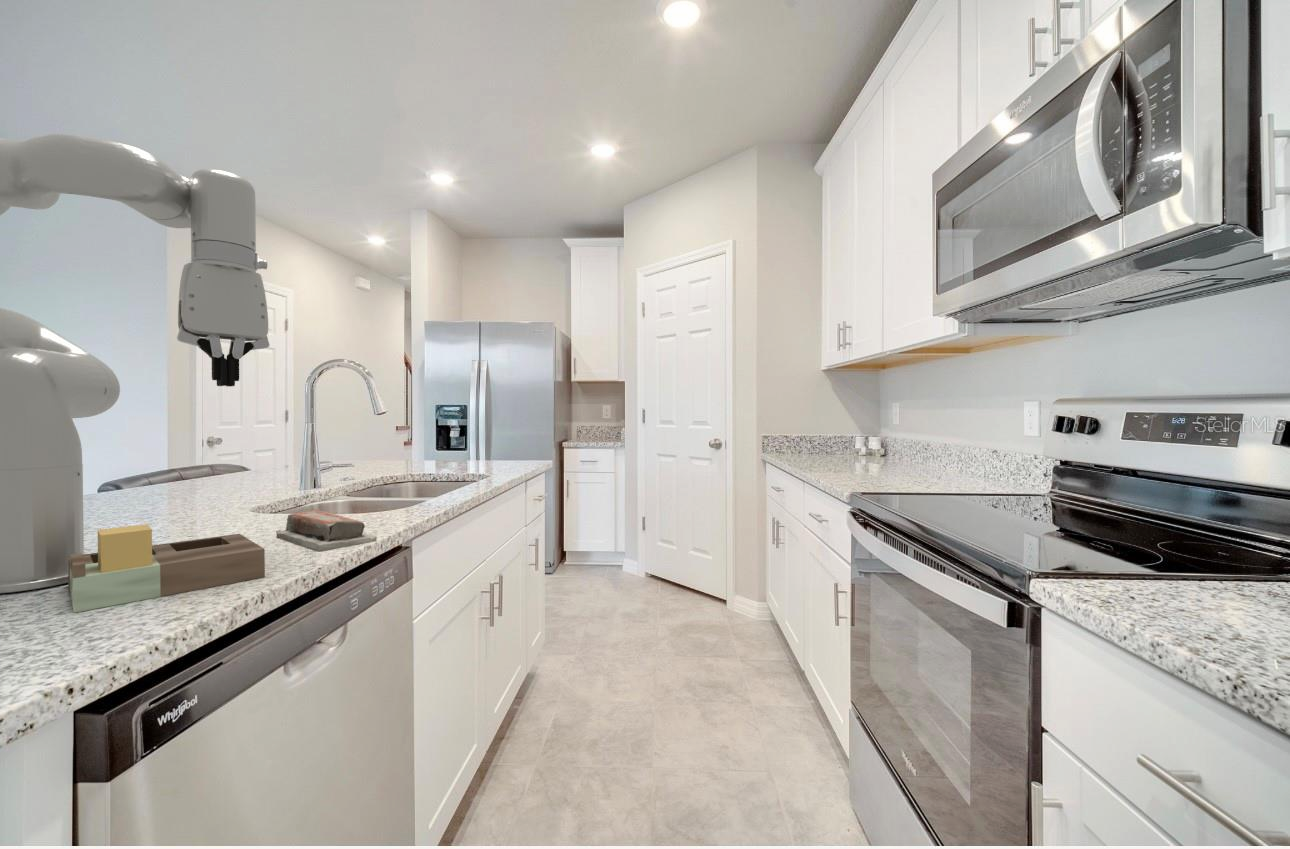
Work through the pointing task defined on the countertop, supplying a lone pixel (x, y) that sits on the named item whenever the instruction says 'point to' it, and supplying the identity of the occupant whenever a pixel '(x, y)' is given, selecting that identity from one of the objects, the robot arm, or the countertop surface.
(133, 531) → the ochre block
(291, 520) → the packaged product
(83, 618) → the countertop surface
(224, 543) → the box
